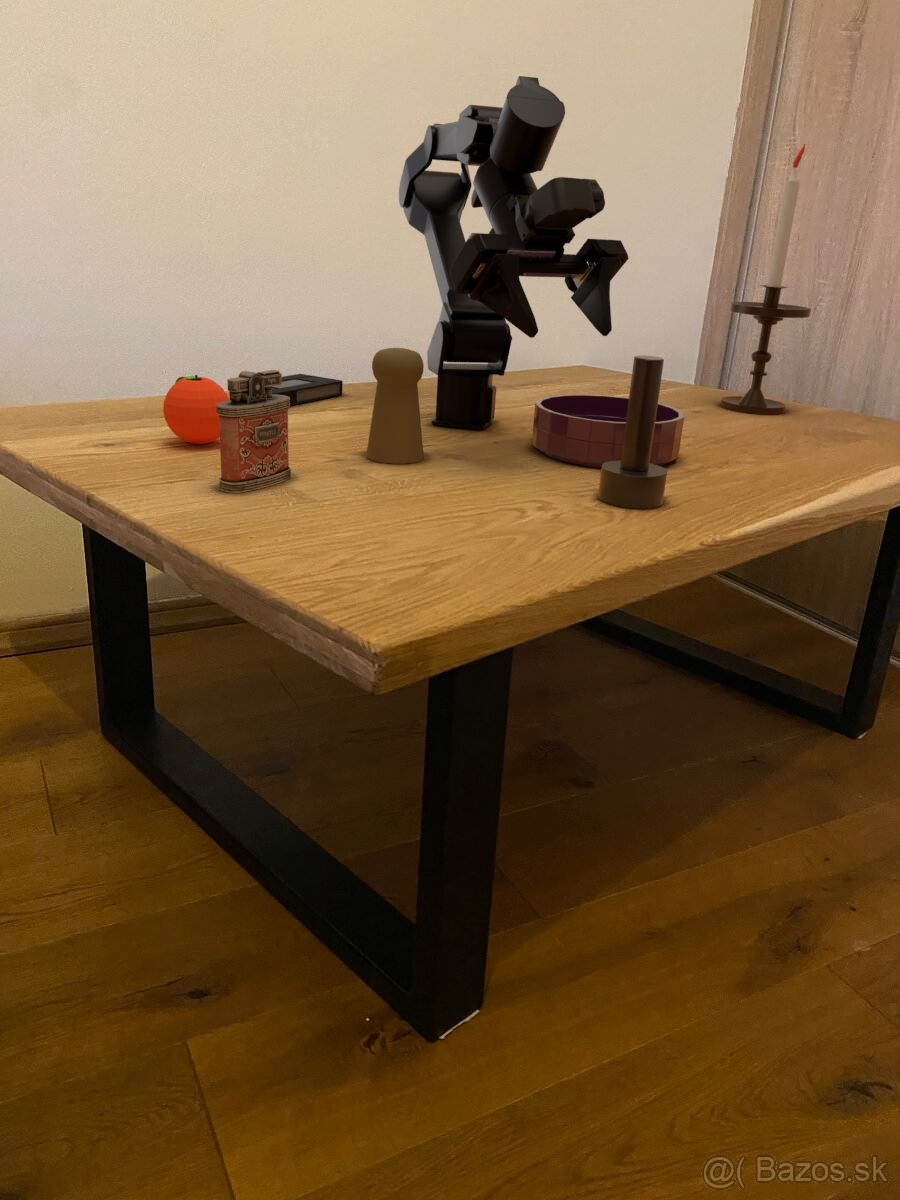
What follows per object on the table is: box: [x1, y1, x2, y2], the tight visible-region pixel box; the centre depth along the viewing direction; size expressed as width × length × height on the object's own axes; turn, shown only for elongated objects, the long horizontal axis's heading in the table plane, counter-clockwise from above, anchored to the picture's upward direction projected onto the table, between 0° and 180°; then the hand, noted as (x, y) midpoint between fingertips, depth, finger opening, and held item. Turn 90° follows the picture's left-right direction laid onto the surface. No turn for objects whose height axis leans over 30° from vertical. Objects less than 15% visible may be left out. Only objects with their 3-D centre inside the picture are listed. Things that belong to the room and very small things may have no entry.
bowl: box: [531, 393, 685, 469], centre depth 103 cm, size 16×16×5 cm
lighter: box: [216, 369, 292, 494], centre depth 83 cm, size 8×3×10 cm, turn 148°
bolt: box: [597, 355, 668, 510], centre depth 84 cm, size 6×6×13 cm
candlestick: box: [720, 143, 812, 415], centre depth 129 cm, size 11×11×35 cm
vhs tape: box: [228, 373, 344, 407], centre depth 123 cm, size 8×14×2 cm, turn 149°
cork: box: [366, 347, 425, 465], centre depth 95 cm, size 6×6×11 cm
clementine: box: [162, 374, 230, 445], centre depth 97 cm, size 8×7×7 cm
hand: (572, 334), depth 91 cm, fingers open, 9 cm apart
